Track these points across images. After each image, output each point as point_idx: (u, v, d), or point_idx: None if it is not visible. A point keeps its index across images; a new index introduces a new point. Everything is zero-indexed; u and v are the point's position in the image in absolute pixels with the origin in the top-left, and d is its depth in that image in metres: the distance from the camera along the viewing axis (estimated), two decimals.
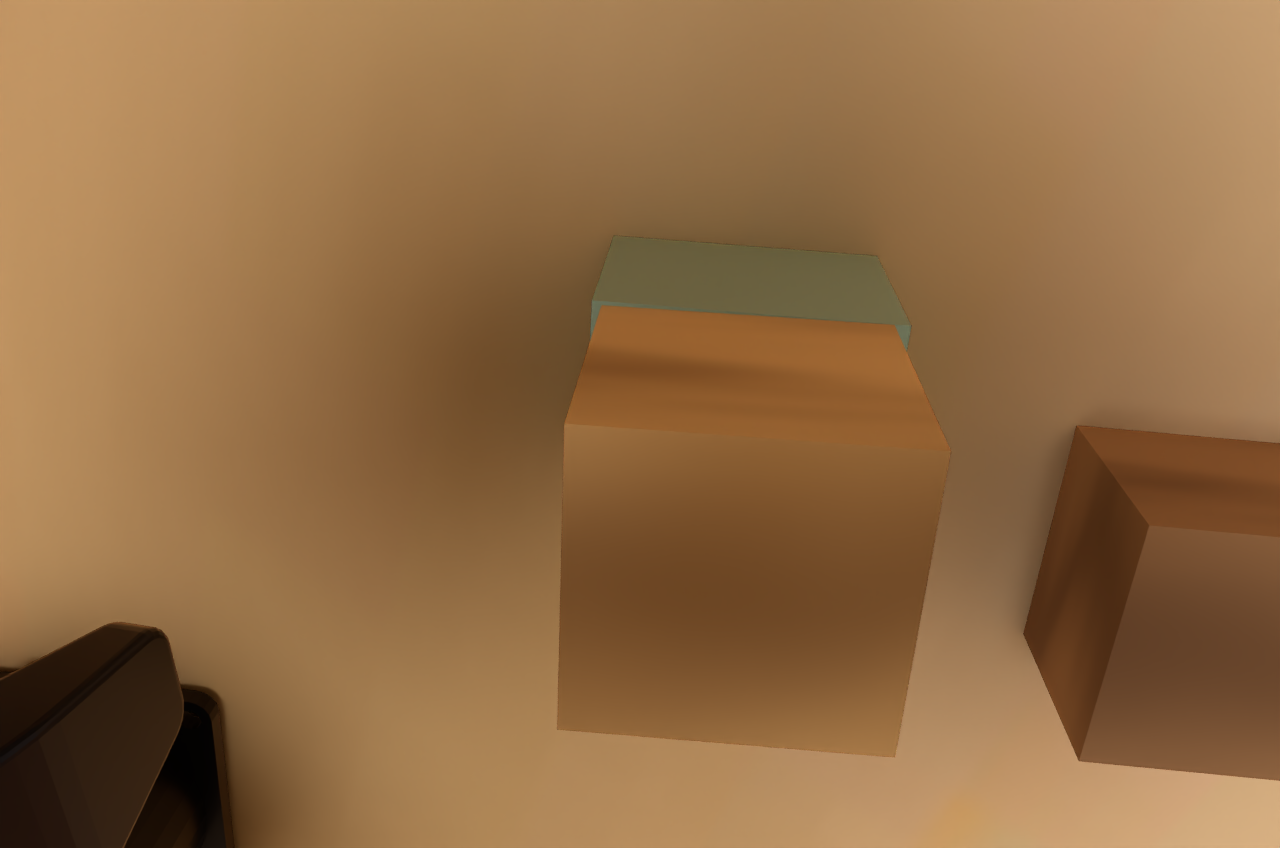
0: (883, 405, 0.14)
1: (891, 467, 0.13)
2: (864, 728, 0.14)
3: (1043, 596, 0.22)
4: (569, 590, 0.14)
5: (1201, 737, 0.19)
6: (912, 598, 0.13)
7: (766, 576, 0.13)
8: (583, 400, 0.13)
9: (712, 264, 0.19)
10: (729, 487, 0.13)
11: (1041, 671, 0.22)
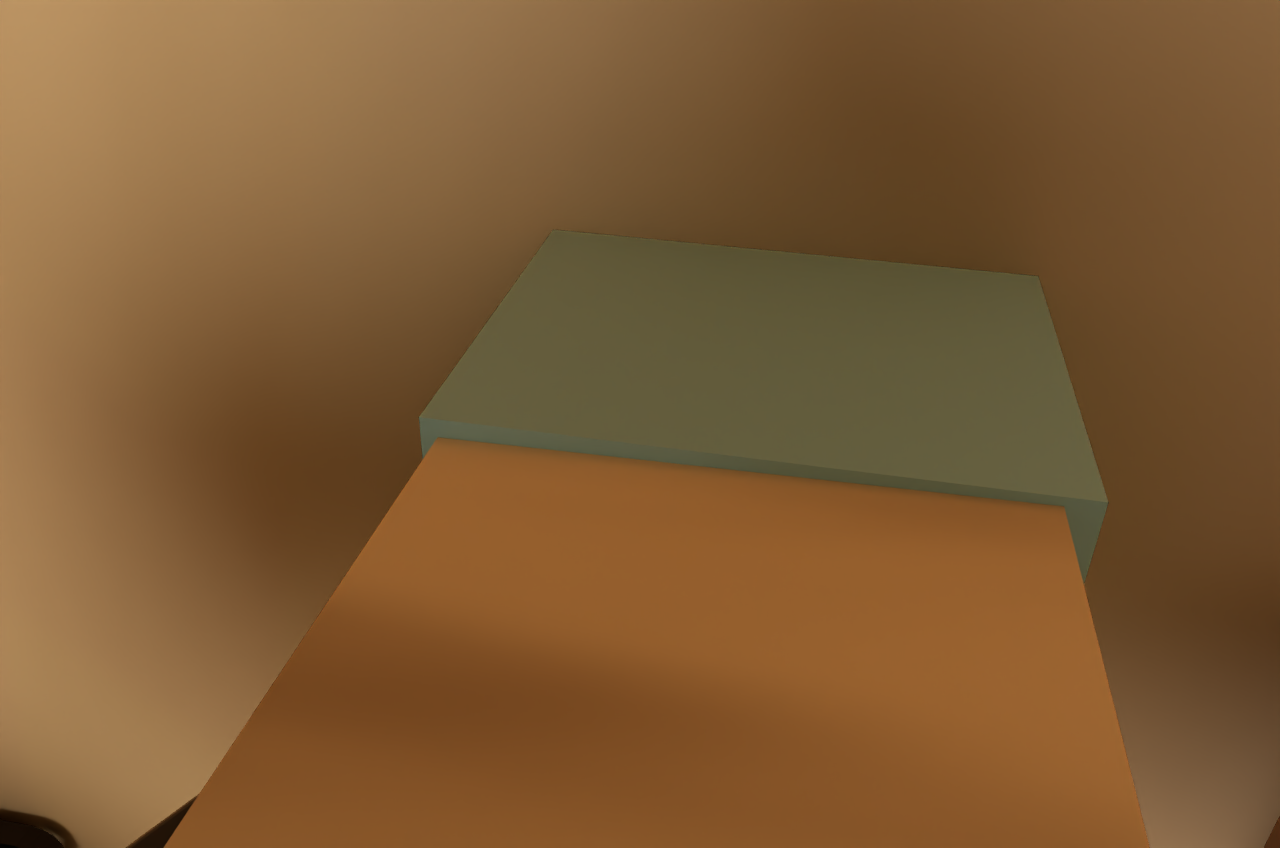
0: None
1: None
2: None
3: None
4: None
5: None
6: None
7: None
8: None
9: (709, 304, 0.10)
10: None
11: None
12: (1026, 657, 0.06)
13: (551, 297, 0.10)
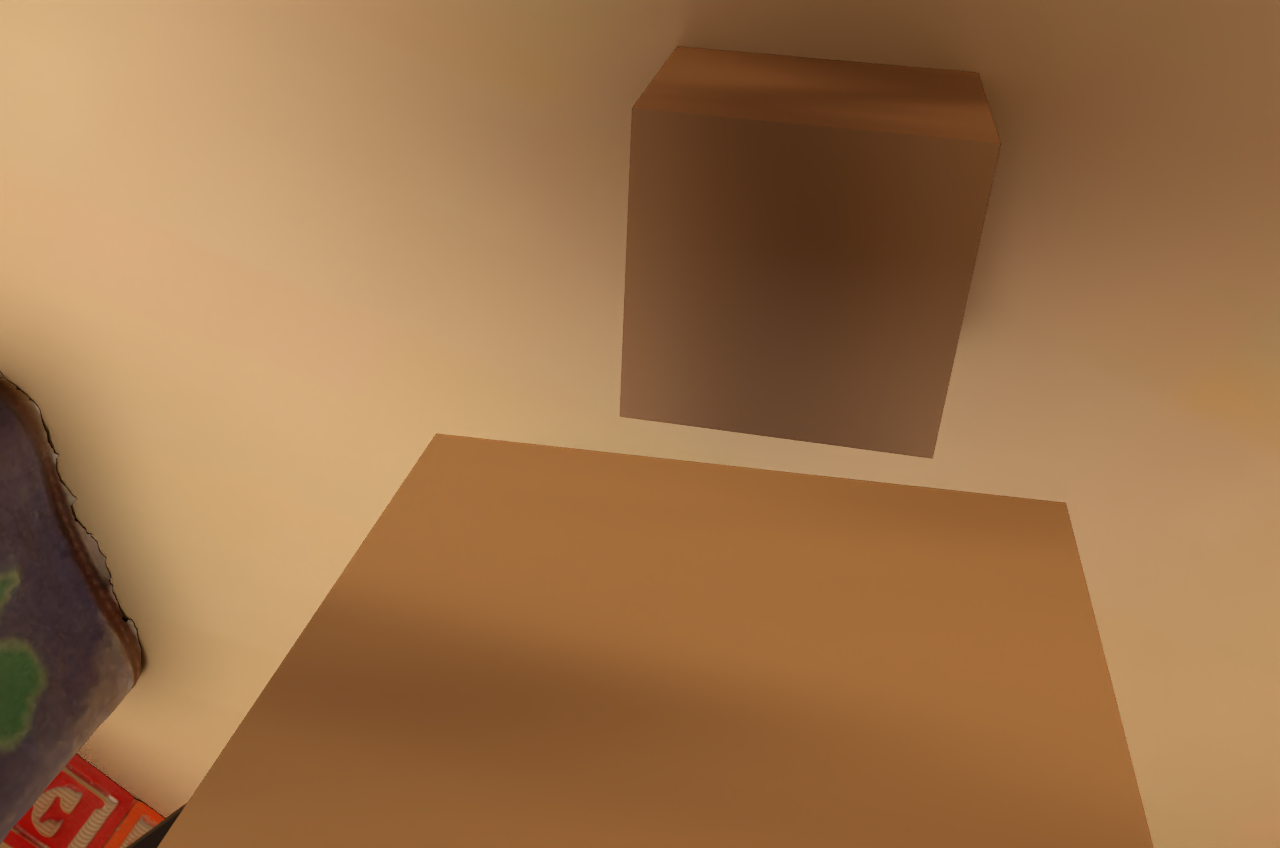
0: None
1: None
2: None
3: None
4: None
5: (902, 336, 0.16)
6: None
7: None
8: None
9: None
10: None
11: None
12: (1028, 653, 0.06)
13: None
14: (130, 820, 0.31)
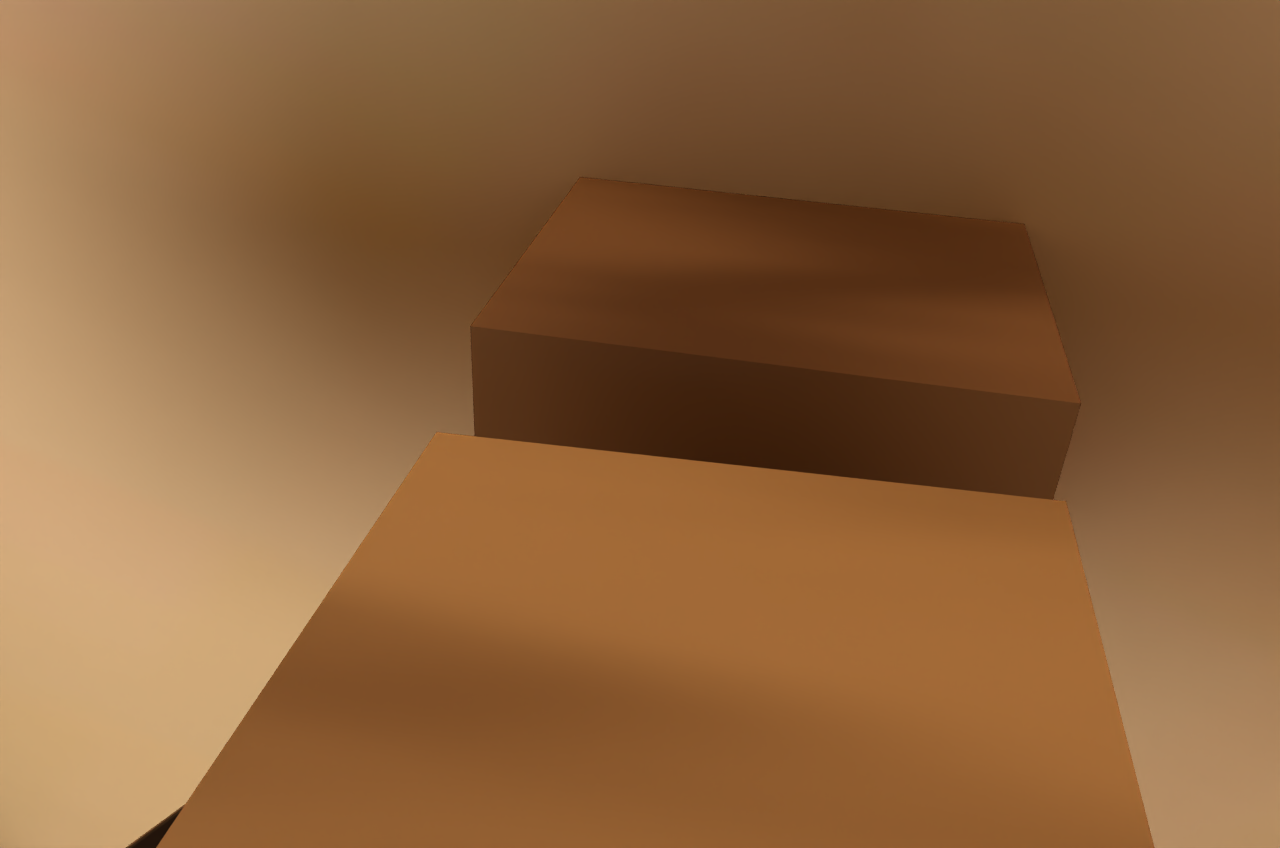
0: None
1: None
2: None
3: None
4: None
5: None
6: None
7: None
8: None
9: None
10: None
11: None
12: (1028, 652, 0.06)
13: None
14: None
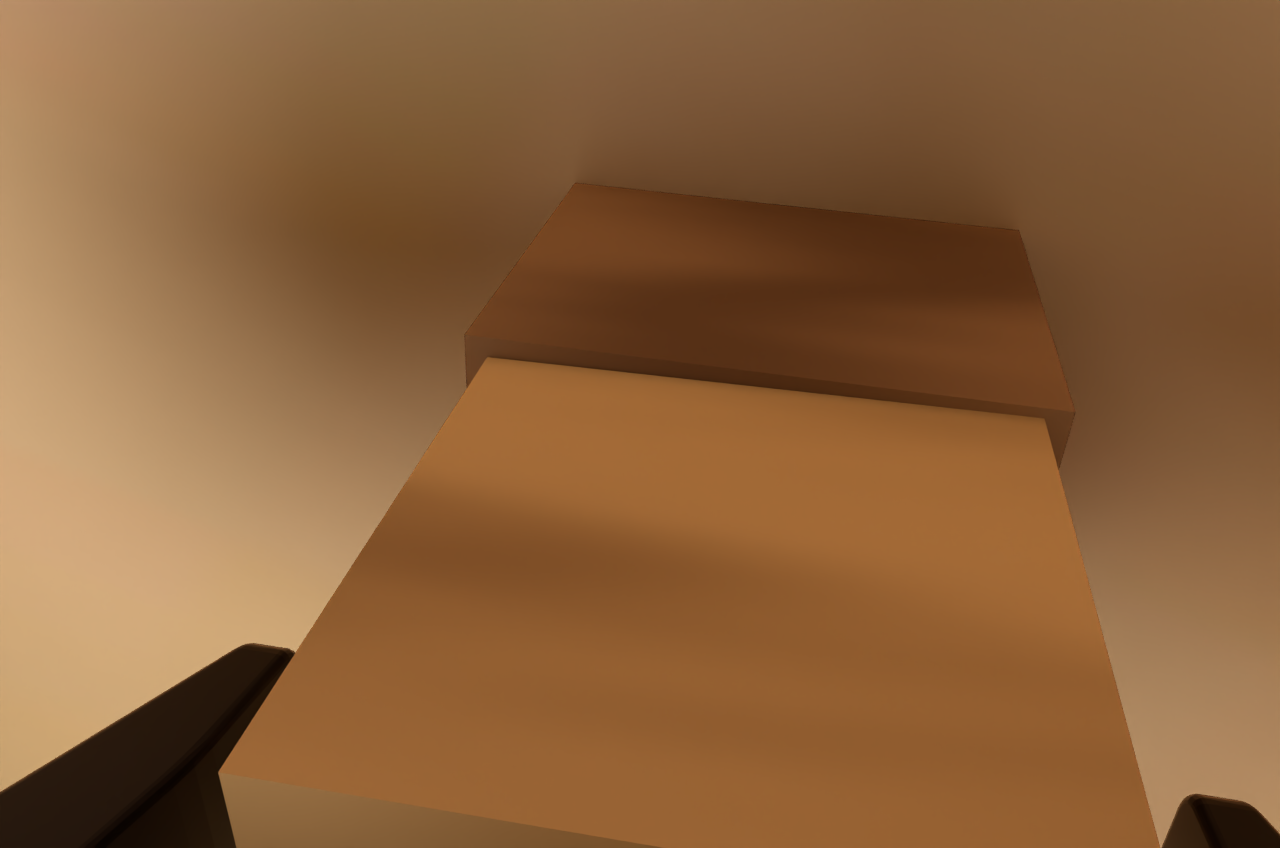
0: (1010, 708, 0.06)
1: None
2: None
3: None
4: None
5: None
6: None
7: None
8: (310, 672, 0.06)
9: None
10: None
11: None
12: (1011, 532, 0.07)
13: None
14: None
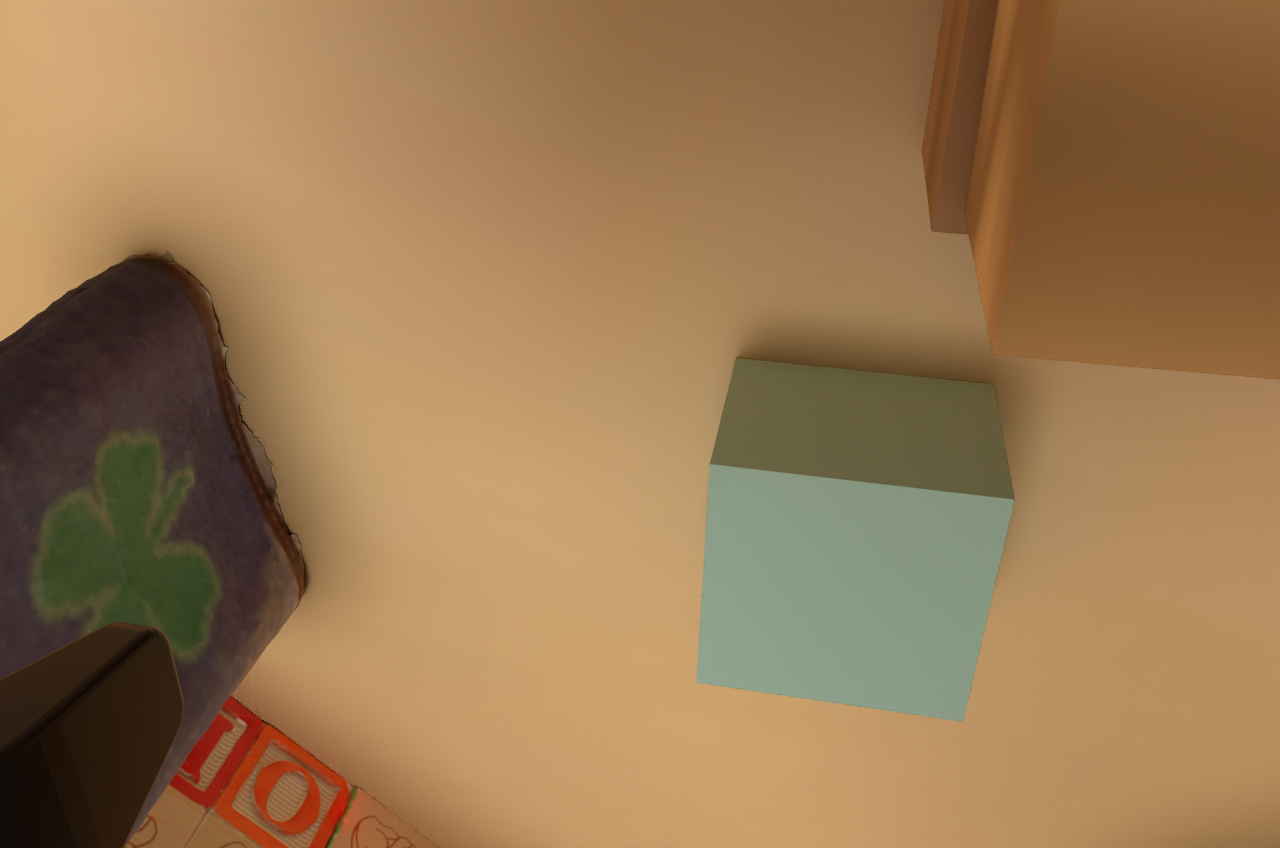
0: None
1: None
2: None
3: None
4: (1044, 148, 0.10)
5: None
6: None
7: None
8: None
9: None
10: None
11: None
12: None
13: None
14: (261, 744, 0.29)
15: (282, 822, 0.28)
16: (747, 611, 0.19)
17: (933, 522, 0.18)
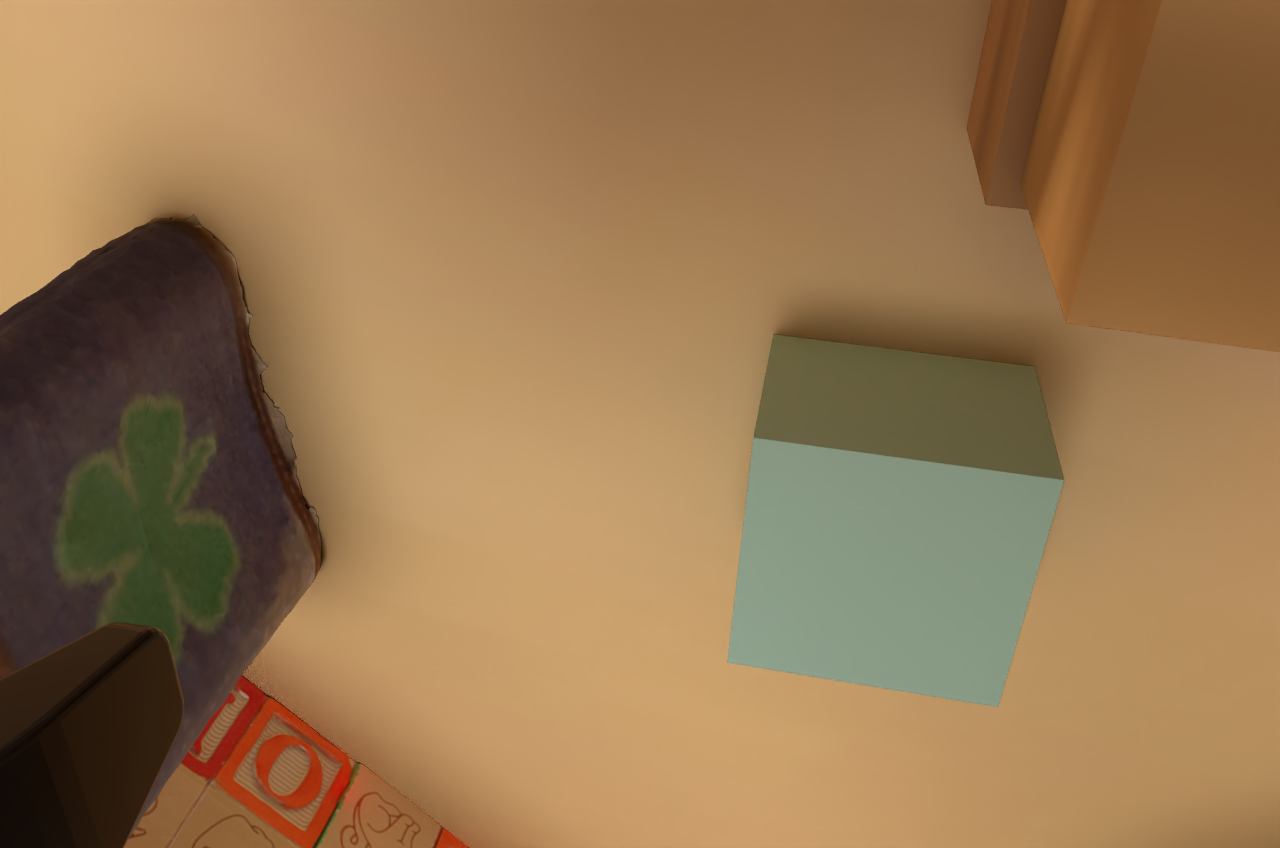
0: None
1: None
2: None
3: None
4: (1142, 110, 0.10)
5: None
6: None
7: None
8: None
9: None
10: None
11: None
12: None
13: None
14: (263, 717, 0.28)
15: (283, 796, 0.27)
16: (783, 590, 0.19)
17: (979, 503, 0.17)
